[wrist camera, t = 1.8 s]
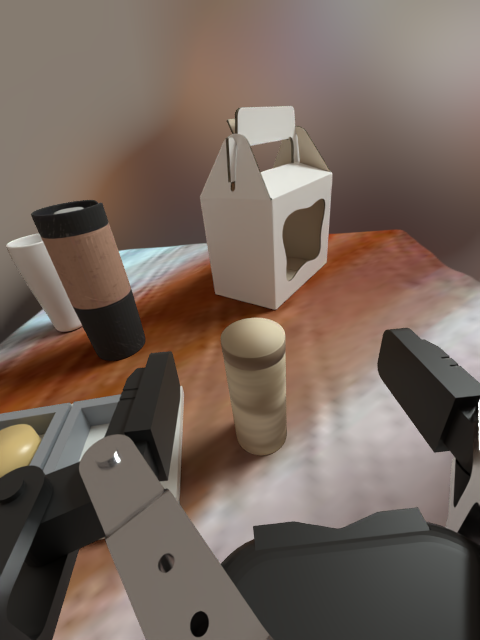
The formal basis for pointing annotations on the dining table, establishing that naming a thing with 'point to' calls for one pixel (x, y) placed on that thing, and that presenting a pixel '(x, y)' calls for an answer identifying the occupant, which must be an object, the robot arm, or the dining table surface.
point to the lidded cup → (257, 383)
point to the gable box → (266, 210)
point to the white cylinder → (43, 281)
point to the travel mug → (92, 275)
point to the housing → (69, 436)
